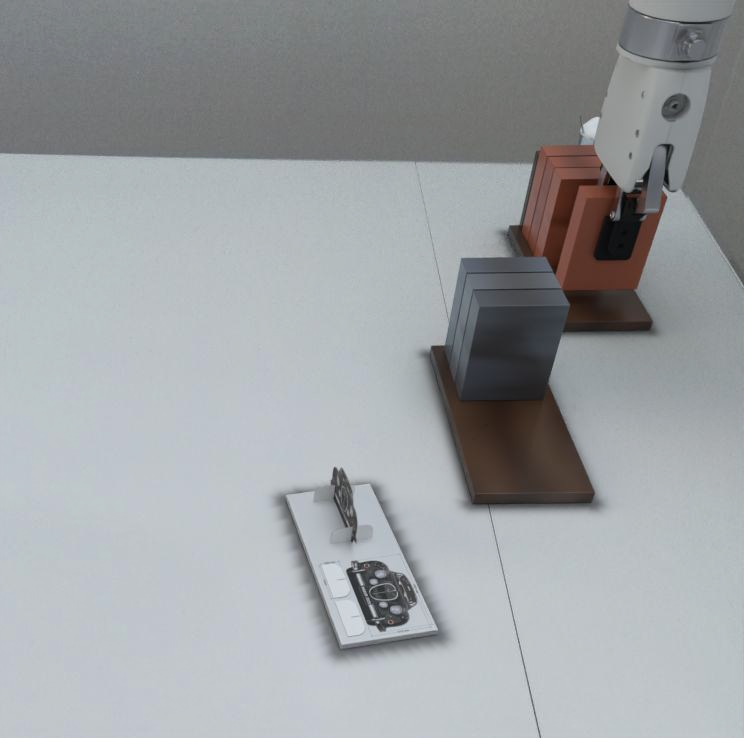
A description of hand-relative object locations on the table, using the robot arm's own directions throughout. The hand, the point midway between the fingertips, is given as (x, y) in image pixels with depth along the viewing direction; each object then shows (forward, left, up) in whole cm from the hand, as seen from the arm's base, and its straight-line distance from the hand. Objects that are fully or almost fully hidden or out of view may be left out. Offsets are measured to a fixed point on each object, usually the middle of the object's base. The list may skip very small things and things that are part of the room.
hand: (606, 248), depth 89 cm
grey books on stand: (+12, +18, -6) cm, 22 cm away
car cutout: (+26, +34, -6) cm, 43 cm away
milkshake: (-5, -21, -6) cm, 23 cm away
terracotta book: (0, 0, -4) cm, 4 cm away
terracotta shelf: (0, -5, -6) cm, 8 cm away
